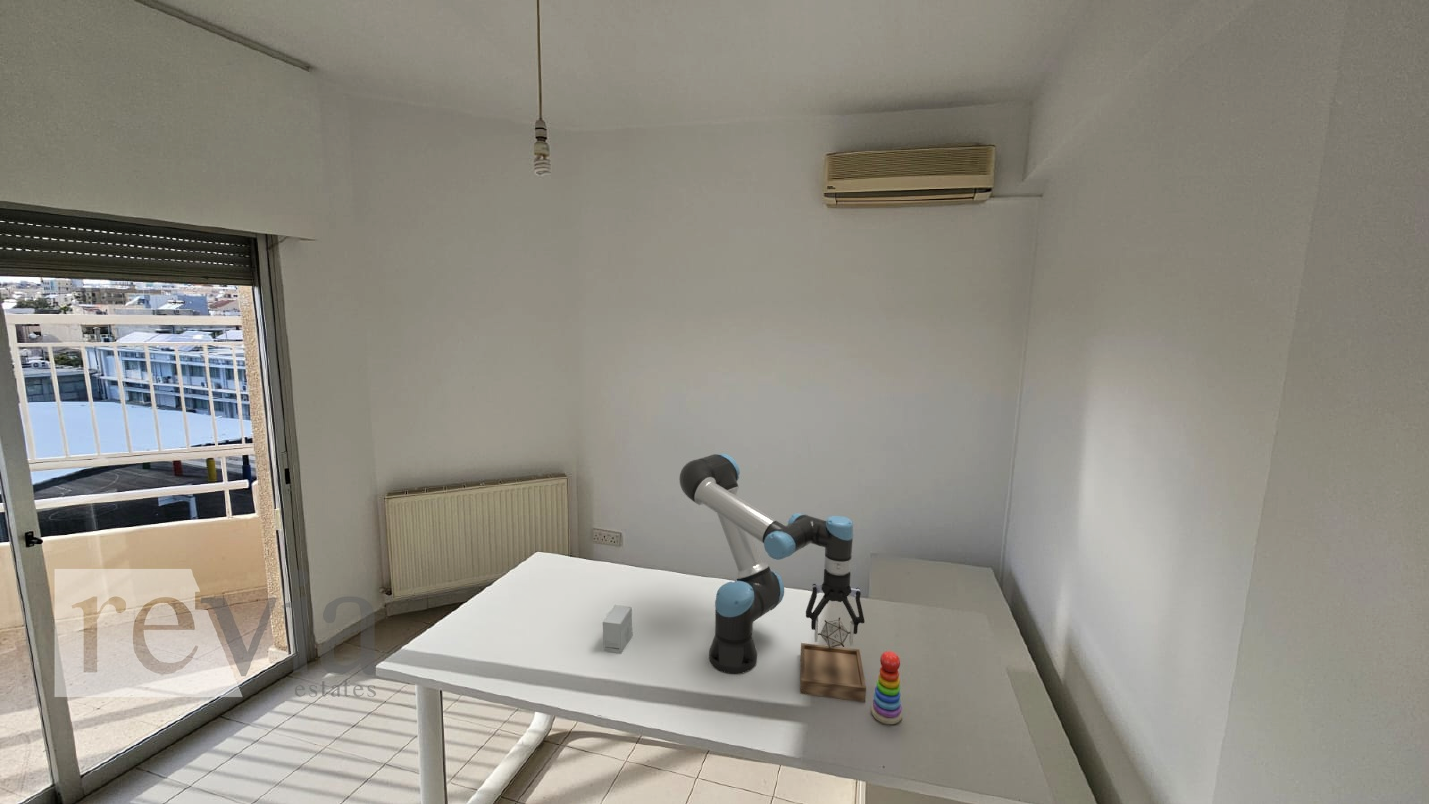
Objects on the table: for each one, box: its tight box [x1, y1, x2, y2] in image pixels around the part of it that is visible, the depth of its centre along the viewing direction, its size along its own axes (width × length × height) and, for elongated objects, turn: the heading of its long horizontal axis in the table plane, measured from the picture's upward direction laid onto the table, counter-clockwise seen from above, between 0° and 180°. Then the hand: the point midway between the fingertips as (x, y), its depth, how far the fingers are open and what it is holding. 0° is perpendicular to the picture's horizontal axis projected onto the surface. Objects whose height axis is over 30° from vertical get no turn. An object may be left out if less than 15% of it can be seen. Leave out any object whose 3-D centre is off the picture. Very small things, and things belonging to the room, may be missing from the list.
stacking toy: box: [870, 650, 903, 725], centre depth 145 cm, size 8×8×19 cm
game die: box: [818, 616, 850, 650], centre depth 159 cm, size 9×8×10 cm
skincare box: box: [602, 604, 634, 655], centre depth 175 cm, size 10×6×10 cm, turn 168°
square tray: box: [799, 642, 867, 703], centre depth 161 cm, size 18×18×4 cm
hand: (833, 641), depth 160 cm, fingers closed on game die, 9 cm apart
